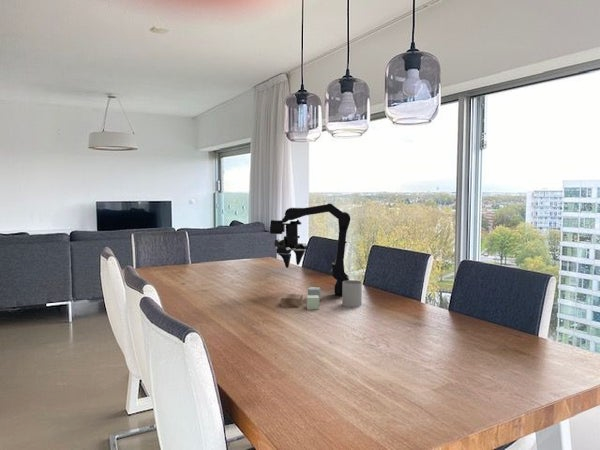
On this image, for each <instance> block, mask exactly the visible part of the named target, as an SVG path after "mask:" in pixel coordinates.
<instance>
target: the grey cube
mask: <svg viewBox="0 0 600 450" xmlns="http://www.w3.org/2000/svg"><path fill="white" fill-rule="evenodd" d="M307 295H318V296H319V300H320V299H321V287H318V286H317V287H315V286H314V287H312V286H311V287H308V289H307Z"/></svg>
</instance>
